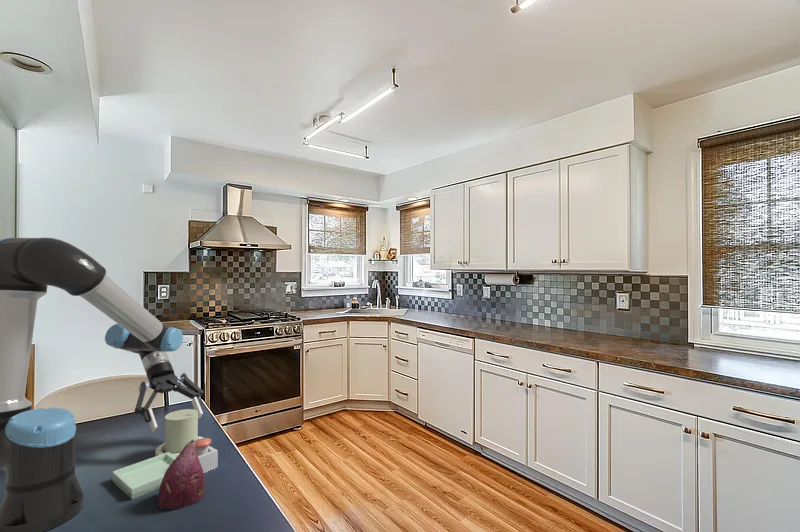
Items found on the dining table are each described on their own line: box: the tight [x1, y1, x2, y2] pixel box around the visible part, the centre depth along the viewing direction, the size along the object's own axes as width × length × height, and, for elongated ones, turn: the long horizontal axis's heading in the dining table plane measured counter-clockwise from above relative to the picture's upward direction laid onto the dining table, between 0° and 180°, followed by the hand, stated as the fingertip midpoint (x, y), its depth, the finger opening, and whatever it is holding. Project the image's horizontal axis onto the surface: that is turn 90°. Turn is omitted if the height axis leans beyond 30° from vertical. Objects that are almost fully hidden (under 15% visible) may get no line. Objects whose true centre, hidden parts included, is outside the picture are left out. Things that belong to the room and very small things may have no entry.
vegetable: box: [157, 439, 206, 510], centre depth 98 cm, size 10×10×15 cm
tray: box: [111, 452, 177, 500], centre depth 105 cm, size 14×14×2 cm
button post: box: [198, 445, 219, 474], centre depth 110 cm, size 6×6×5 cm
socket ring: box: [154, 435, 204, 457], centre depth 121 cm, size 14×14×2 cm
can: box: [164, 408, 199, 454], centre depth 121 cm, size 9×9×12 cm
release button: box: [194, 437, 212, 456], centre depth 110 cm, size 5×5×6 cm
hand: (178, 422), depth 122 cm, fingers open, 13 cm apart
